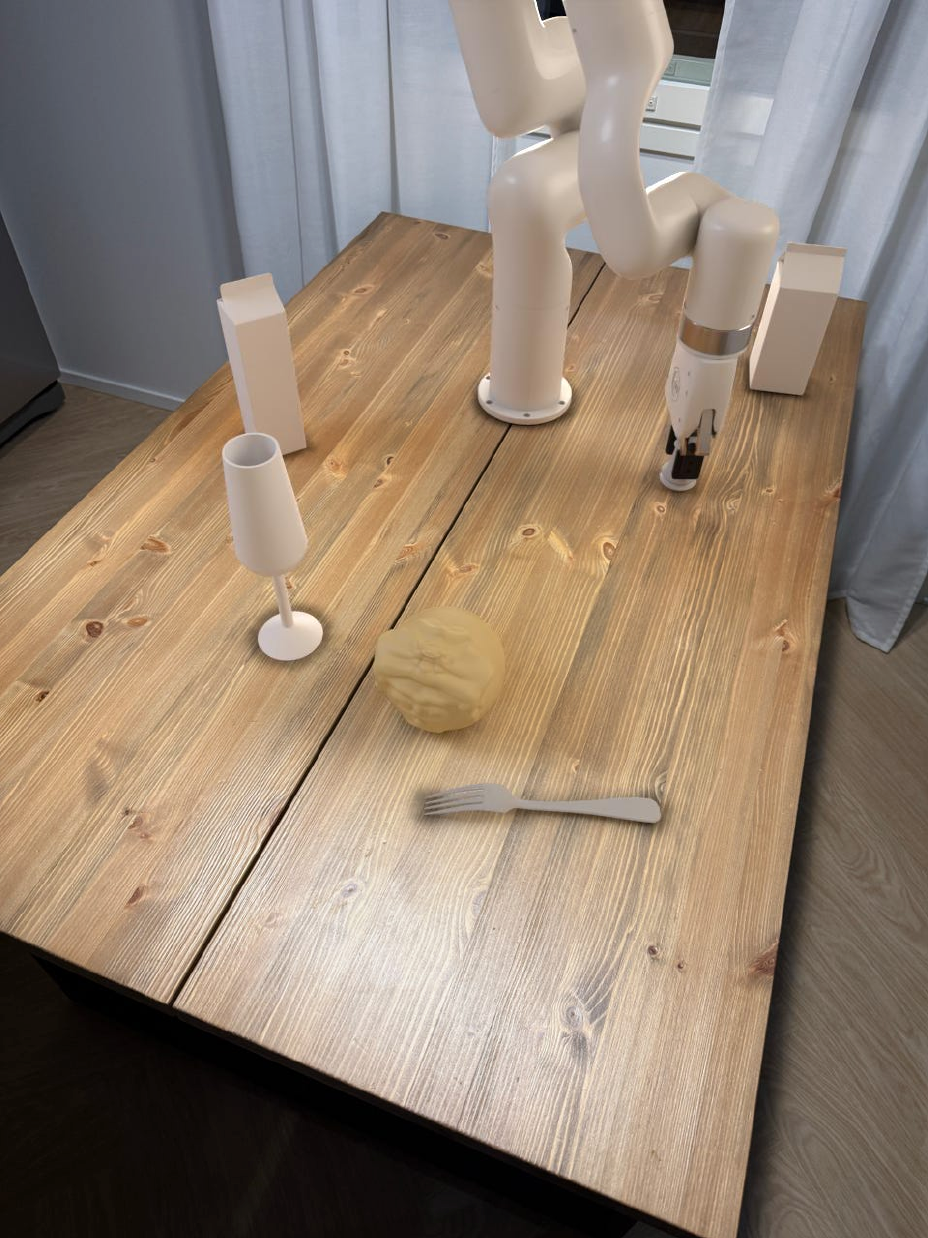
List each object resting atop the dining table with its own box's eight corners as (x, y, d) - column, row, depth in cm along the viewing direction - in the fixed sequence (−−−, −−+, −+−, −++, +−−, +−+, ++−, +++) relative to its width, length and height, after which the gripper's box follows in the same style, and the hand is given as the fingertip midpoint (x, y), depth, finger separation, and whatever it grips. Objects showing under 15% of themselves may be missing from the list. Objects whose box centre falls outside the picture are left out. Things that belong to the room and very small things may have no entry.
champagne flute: (270, 669, 89) (223, 485, 71) (248, 624, 93) (199, 438, 75) (332, 646, 91) (303, 461, 73) (309, 603, 95) (275, 417, 77)
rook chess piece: (699, 475, 110) (714, 422, 103) (690, 497, 107) (704, 444, 101) (664, 465, 111) (677, 412, 105) (654, 486, 108) (666, 433, 102)
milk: (307, 448, 112) (283, 284, 96) (261, 462, 110) (229, 298, 94) (288, 422, 116) (262, 259, 99) (244, 435, 114) (210, 272, 97)
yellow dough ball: (363, 728, 85) (353, 657, 77) (415, 638, 92) (411, 565, 84) (475, 767, 82) (477, 699, 74) (519, 672, 89) (525, 599, 81)
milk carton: (802, 396, 121) (849, 262, 106) (749, 390, 121) (788, 255, 107) (800, 367, 125) (845, 234, 111) (748, 361, 126) (786, 228, 112)
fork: (654, 839, 80) (663, 824, 78) (423, 820, 78) (426, 805, 76) (650, 811, 82) (659, 796, 80) (425, 792, 80) (428, 776, 78)
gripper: (667, 286, 99) (641, 422, 112) (692, 373, 88) (659, 512, 101) (735, 287, 99) (700, 423, 112) (768, 373, 88) (725, 512, 101)
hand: (681, 464), depth 107 cm, fingers open, 3 cm apart
